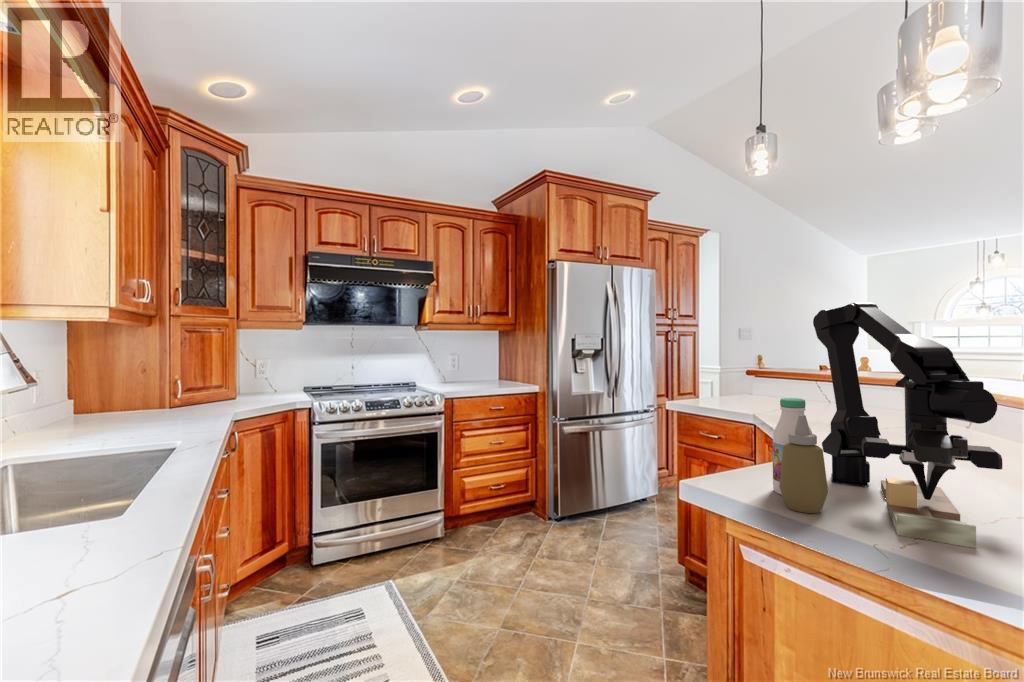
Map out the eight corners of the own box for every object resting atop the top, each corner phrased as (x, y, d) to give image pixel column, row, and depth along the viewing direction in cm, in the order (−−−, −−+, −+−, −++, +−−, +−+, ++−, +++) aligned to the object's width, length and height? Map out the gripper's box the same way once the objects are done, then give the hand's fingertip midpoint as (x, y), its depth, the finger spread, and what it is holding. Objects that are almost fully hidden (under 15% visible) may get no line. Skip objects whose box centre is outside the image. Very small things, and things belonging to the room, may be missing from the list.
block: (888, 504, 87) (888, 482, 87) (886, 498, 90) (885, 477, 90) (917, 508, 85) (916, 486, 84) (913, 501, 88) (912, 480, 88)
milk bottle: (808, 488, 102) (807, 396, 102) (821, 501, 95) (820, 401, 95) (768, 486, 104) (767, 396, 104) (778, 498, 97) (777, 401, 97)
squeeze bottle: (805, 518, 86) (804, 420, 86) (769, 504, 94) (768, 413, 93) (839, 513, 88) (838, 417, 88) (801, 499, 96) (800, 411, 96)
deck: (897, 534, 78) (897, 514, 78) (881, 489, 101) (880, 473, 101) (976, 548, 73) (976, 526, 73) (940, 496, 96) (940, 480, 96)
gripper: (864, 416, 84) (866, 503, 84) (1012, 425, 74) (1014, 524, 74) (860, 408, 94) (862, 486, 94) (991, 415, 83) (993, 502, 83)
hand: (927, 499), depth 86 cm, fingers closed
